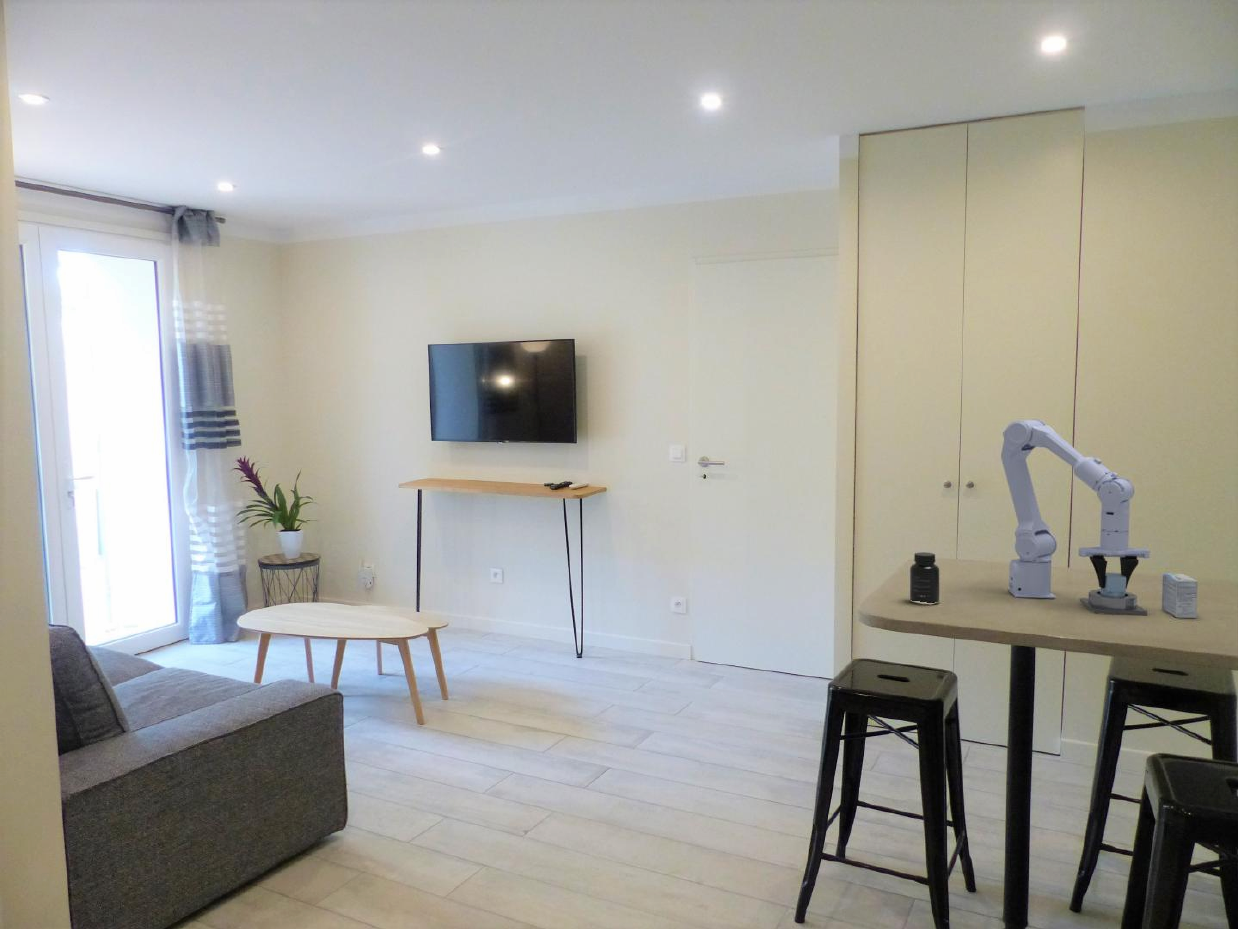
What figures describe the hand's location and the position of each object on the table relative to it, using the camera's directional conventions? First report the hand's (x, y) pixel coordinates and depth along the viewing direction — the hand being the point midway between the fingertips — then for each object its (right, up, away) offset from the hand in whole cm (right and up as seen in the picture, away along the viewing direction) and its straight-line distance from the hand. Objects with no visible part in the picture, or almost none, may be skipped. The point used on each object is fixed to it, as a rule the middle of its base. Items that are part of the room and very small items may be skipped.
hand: (1112, 587), depth 204 cm
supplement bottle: (-41, -5, +9) cm, 42 cm away
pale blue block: (0, -3, 0) cm, 3 cm away
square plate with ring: (0, -5, 0) cm, 5 cm away
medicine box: (+12, -6, -5) cm, 14 cm away
